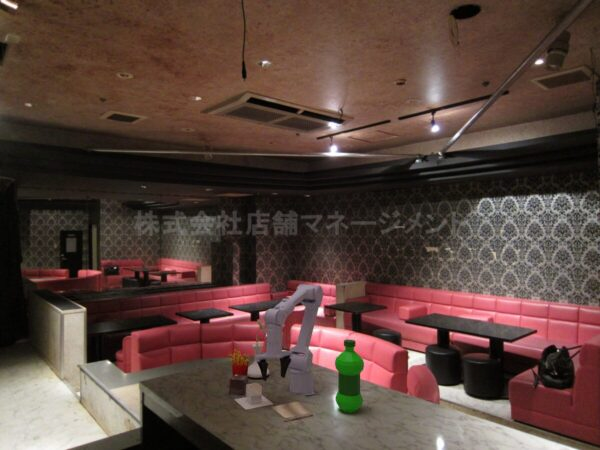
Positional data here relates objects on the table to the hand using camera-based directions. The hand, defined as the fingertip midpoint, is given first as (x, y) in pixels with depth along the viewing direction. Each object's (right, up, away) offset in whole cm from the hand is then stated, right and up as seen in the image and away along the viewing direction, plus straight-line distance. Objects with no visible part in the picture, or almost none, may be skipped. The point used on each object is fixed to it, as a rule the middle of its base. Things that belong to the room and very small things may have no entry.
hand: (273, 378), depth 156 cm
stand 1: (-7, -10, 0) cm, 13 cm away
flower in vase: (-10, -12, +36) cm, 39 cm away
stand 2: (+7, -10, -6) cm, 14 cm away
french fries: (-16, -11, +19) cm, 28 cm away
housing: (-7, -9, 0) cm, 11 cm away
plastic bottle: (+28, -11, -2) cm, 30 cm away
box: (-14, -11, +10) cm, 21 cm away
